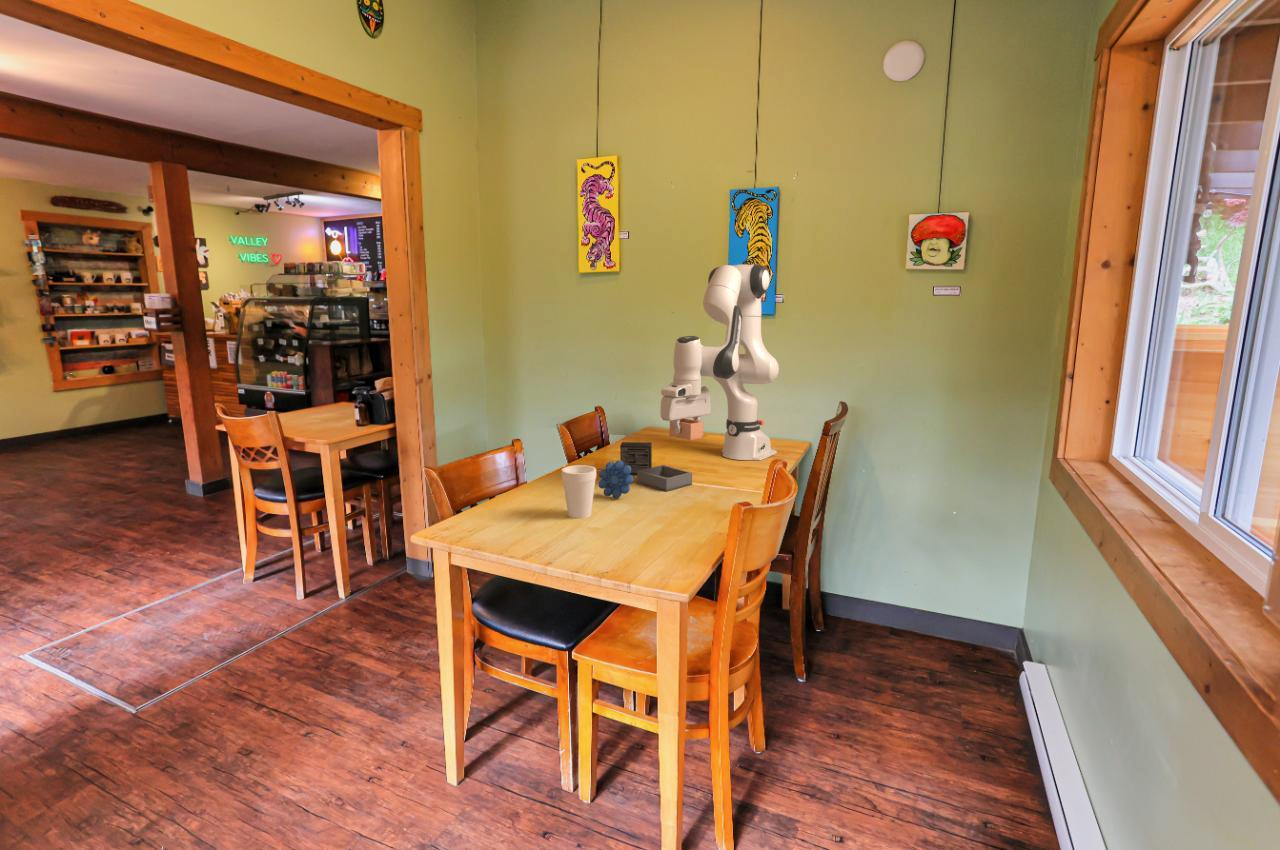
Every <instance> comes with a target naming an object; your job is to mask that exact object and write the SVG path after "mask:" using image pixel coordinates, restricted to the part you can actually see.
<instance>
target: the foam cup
mask: <svg viewBox="0 0 1280 850" xmlns="http://www.w3.org/2000/svg"><path fill="white" fill-rule="evenodd" d="M561 479H562V483H563V484H562V485H563V490H564V496H565V502H566V509H567V514H568V516H569V517H570V518H572V519H585V518H589V517H591V515H592V512H593V504H594V503H593V502H594V494H595V486H596V480H597V468H596V467H595V466H592V465H585V464H583V465H582V464H576V465H575V464H574V465H569V466H566V467H565V466H564V467H562V469H561Z"/></svg>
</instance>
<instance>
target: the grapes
mask: <svg viewBox="0 0 1280 850" xmlns="http://www.w3.org/2000/svg"><path fill="white" fill-rule="evenodd" d="M623 466H624V463H623V461H621V460H620V459H618V460H616V461H615V462H613V461H608V462H607V463H606V464H605V467H604V468H602V469H601V470H600V471H599V475H598V476H599V478H600V480H599V481H598V487H599V488H600V489H603V495H604V496H605V497H610V496H611V497H613V498H614V499H619V498H621V496H622V494H624V495H626V494H628V493H629V492H630V489H631V487H630V485H632V484H633V483H634V480H635V479H634V475H629V474H630V473H631V467H630V466H628V465H626V466H624V467H623Z"/></svg>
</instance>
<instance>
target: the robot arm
mask: <svg viewBox="0 0 1280 850" xmlns="http://www.w3.org/2000/svg"><path fill="white" fill-rule="evenodd" d="M769 272H770V271H769V270H768V269H767V267H766V266H764V265H762V264H743V263H742V264H734V265H729V264H723V265H719V266H717V267H714V268H713V269H712V270H711V271H710V272H709V275H708V281H707V287H706V290H705V293H704V295H703V300H702V306H703V310H704V312H705V313H706V315H707V316H709V317H710V318H711V319H712V320H714V321H716V322H719V323H721V324H722V325H725V326H726V331H725V340H724V341H725V342H724V344H722V345H720V346H711V345H710V346H707V345H703V344H702V343H701V338H700V337H699V336H695V335H685V336H680V337H678V338H677V339H676V341H675V343H674V350H673V368H674V373H673V378H672V382H671V383H669V384H668V385H666V386H664V387H663V388H662V389H660V390H661V391H660V394H661V395H662V397H661V400H660V410H659V411H660V412H659V413H660V418H661V419H662V421H667V422H670V421H672V423H673V425H674V427H675V433H682V428H681V427H680V426H679V423H680V419H691V418H692V420H695V421H700V420H701V416H707V415H710V413H712V412H711V411H712V405H711V404H712V403H711V402H712V401H711V396H710V389H708V387H707V386H702V377H710V378H713V379H714V380H715V381H716V382H717V383H718V385H720V386H721V388H722V390H723V391H724V393H725V396H726V403H727V418H726V423H725V424H726V426H725V427H726V428H725V429H726V432H725V434H724V441H723V448H722V449H721V453H722V454H721V455H722V456H723V457H724V458H726V459H731V460H740V461H763V460H765V459H768V458H769V457H772V456H773V455H776V454H778V451H777V450H775V448H771V447H772V446H771V439H770V437H769V436H768V435H767V434H766V433H765V432H764V431H762V429H761V428H760V427H761V426H764V424H765V420H764V419H759V420H758V406H759V404H758V399H757V398H756V397H755V396H754V394H752V393H750V392H748V391H747V390H746V389H745V387H744V384H746V385H747V384H748V385H749V384H750V385H764V384H772V383H773V382H775V380H776V379H777V378H778V376H779V374H780V373H779V372H780V366H779V362H778V361H777V359H776V358H775V357H774V356H773V355H772V354H771V353H770V352H769V351H768V350H767V348H766V347H765V344H764V342H763V341H764V340H763V337H762V313H763V312H762V311H763V310H762V300H761V299H762V296H763V295H765V293H767V291H768V290H769V287H770V281H771V280H770V279H771V278H770V273H769ZM741 346H742V347H743V349H744V351H745V352H744V353H740V347H741Z"/></svg>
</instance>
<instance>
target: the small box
mask: <svg viewBox="0 0 1280 850" xmlns="http://www.w3.org/2000/svg"><path fill="white" fill-rule="evenodd" d="M619 447H620V450H619V451H620V455H619V456H620V459H619V460H621V461H623V463H624V466H626V465H628V466H630V467H631V473H630V474H629V475H632V476H637V471H639V470H643V469H647V468H651V467H653V462H652V461H653V457H652V456H653V454H652V452H653V451H652V448H653V447H652V442H650V441H649V442H648V441H647V442H641V441H638V442H637V441H636V442H634V441H633V442H631V441H622V442H621V443H620V446H619ZM624 466H623V467H624Z"/></svg>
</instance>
